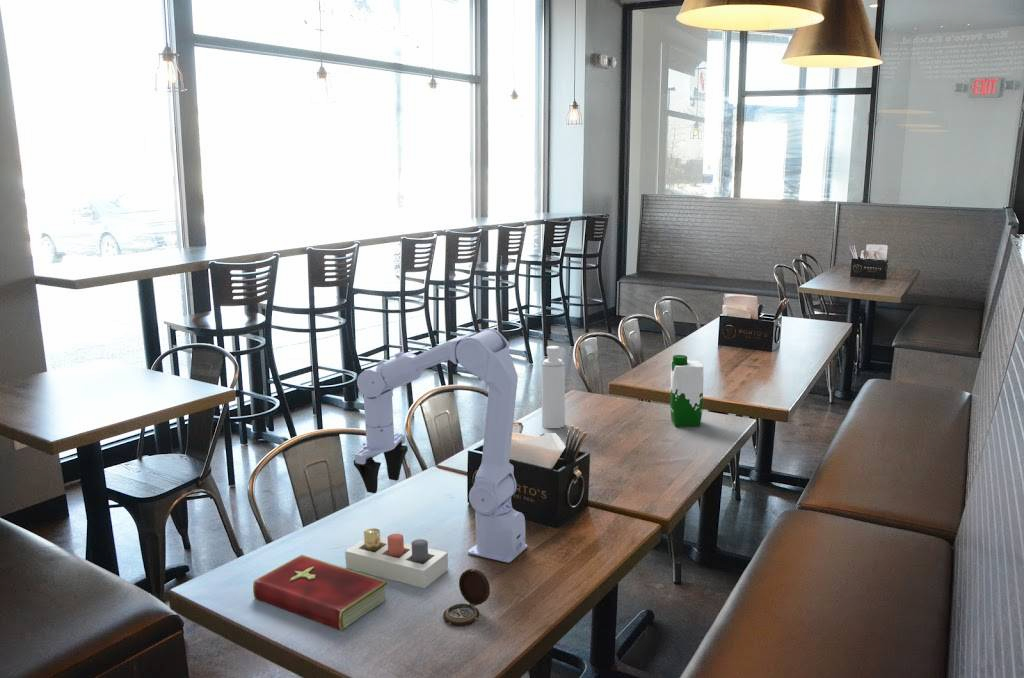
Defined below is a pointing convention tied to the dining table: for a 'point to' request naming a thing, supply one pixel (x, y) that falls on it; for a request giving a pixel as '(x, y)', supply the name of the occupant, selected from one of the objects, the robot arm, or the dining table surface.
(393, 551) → the red plug
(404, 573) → the socket board
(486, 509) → the robot arm
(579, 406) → the dining table surface
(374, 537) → the brass plug
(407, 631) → the dining table surface
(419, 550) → the gray plug
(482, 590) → the compass
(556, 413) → the white bottle
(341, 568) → the hardcover book
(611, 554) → the dining table surface
